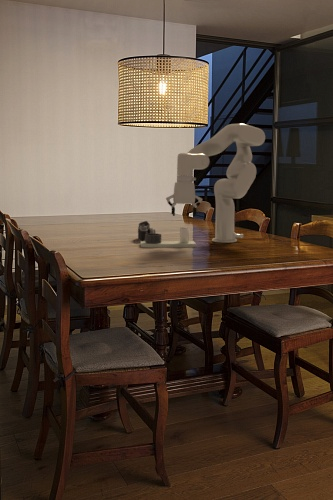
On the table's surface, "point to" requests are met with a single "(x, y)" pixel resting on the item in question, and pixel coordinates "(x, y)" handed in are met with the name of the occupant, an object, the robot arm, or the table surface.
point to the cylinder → (184, 235)
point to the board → (169, 244)
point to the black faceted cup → (153, 238)
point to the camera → (144, 230)
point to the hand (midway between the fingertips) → (183, 215)
